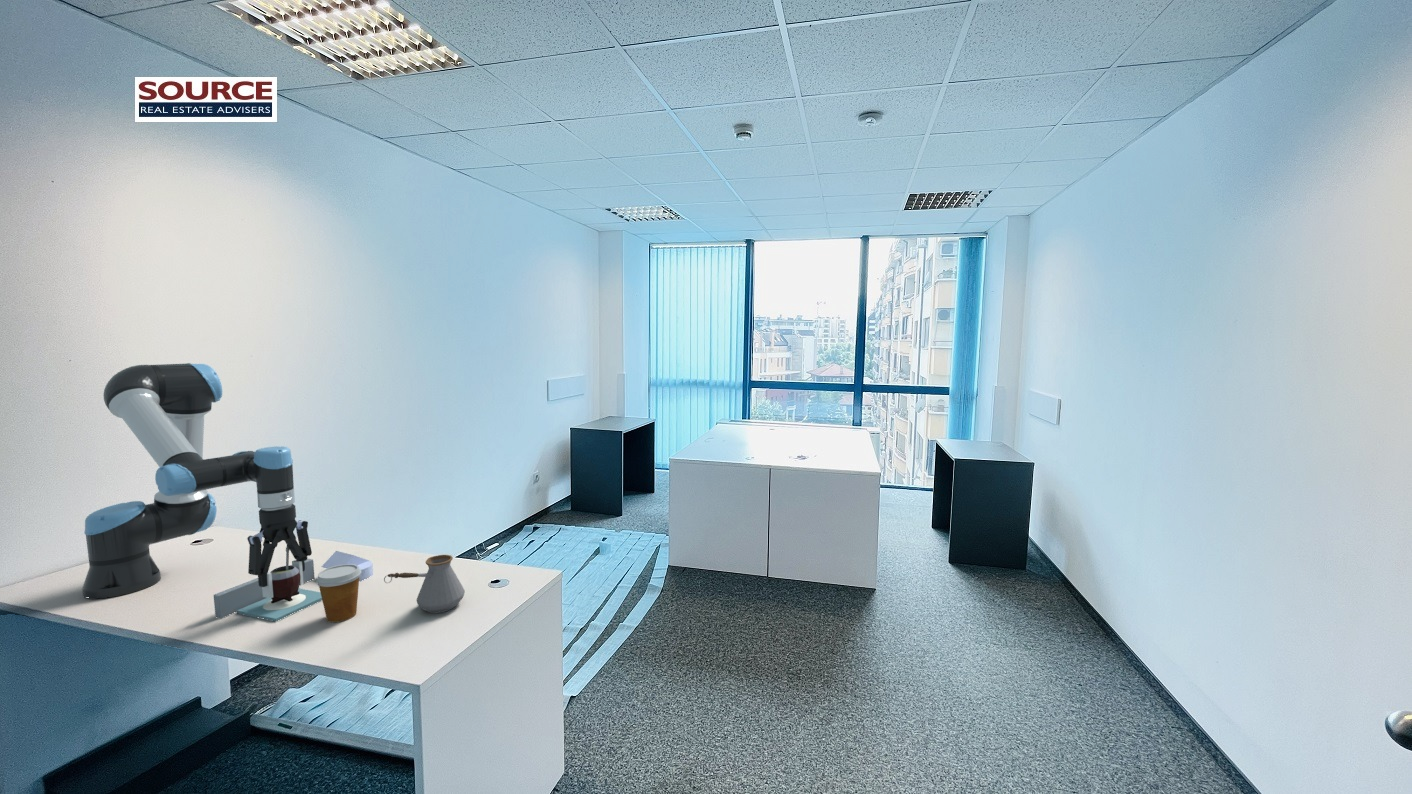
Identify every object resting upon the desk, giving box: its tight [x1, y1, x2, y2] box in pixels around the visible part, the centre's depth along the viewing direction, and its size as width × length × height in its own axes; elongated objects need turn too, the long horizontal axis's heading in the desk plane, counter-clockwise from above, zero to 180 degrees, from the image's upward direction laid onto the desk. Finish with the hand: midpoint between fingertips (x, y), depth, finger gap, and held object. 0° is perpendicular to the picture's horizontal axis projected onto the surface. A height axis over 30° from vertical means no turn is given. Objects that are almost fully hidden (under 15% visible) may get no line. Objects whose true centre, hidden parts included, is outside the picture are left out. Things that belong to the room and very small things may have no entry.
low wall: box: [212, 558, 316, 619], centre depth 147 cm, size 2×24×6 cm, turn 163°
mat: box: [236, 587, 322, 622], centre depth 143 cm, size 14×14×1 cm
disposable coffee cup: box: [315, 564, 361, 623], centre depth 137 cm, size 10×10×12 cm
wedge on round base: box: [321, 550, 374, 582], centre depth 161 cm, size 9×7×13 cm
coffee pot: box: [383, 554, 466, 614], centre depth 137 cm, size 21×12×15 cm, turn 161°
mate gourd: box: [269, 545, 301, 603], centre depth 142 cm, size 8×8×15 cm
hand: (283, 590), depth 143 cm, fingers closed on mate gourd, 7 cm apart
